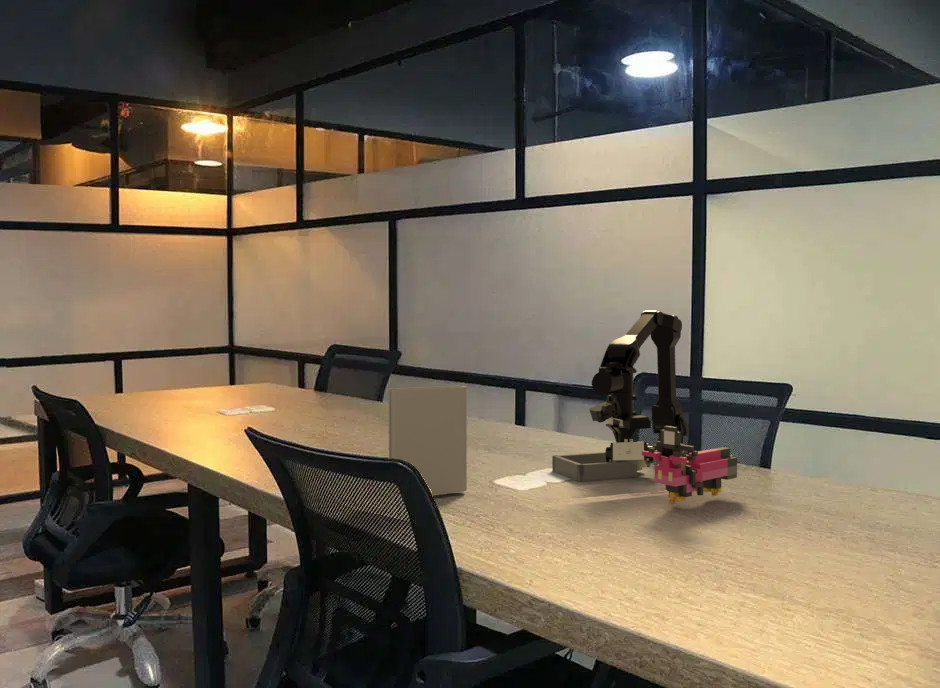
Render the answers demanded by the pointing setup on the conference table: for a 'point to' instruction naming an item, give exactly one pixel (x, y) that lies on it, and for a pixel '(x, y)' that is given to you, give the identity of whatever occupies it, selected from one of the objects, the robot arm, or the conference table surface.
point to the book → (431, 434)
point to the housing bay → (591, 467)
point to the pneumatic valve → (629, 453)
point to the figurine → (690, 467)
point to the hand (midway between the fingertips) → (621, 452)
